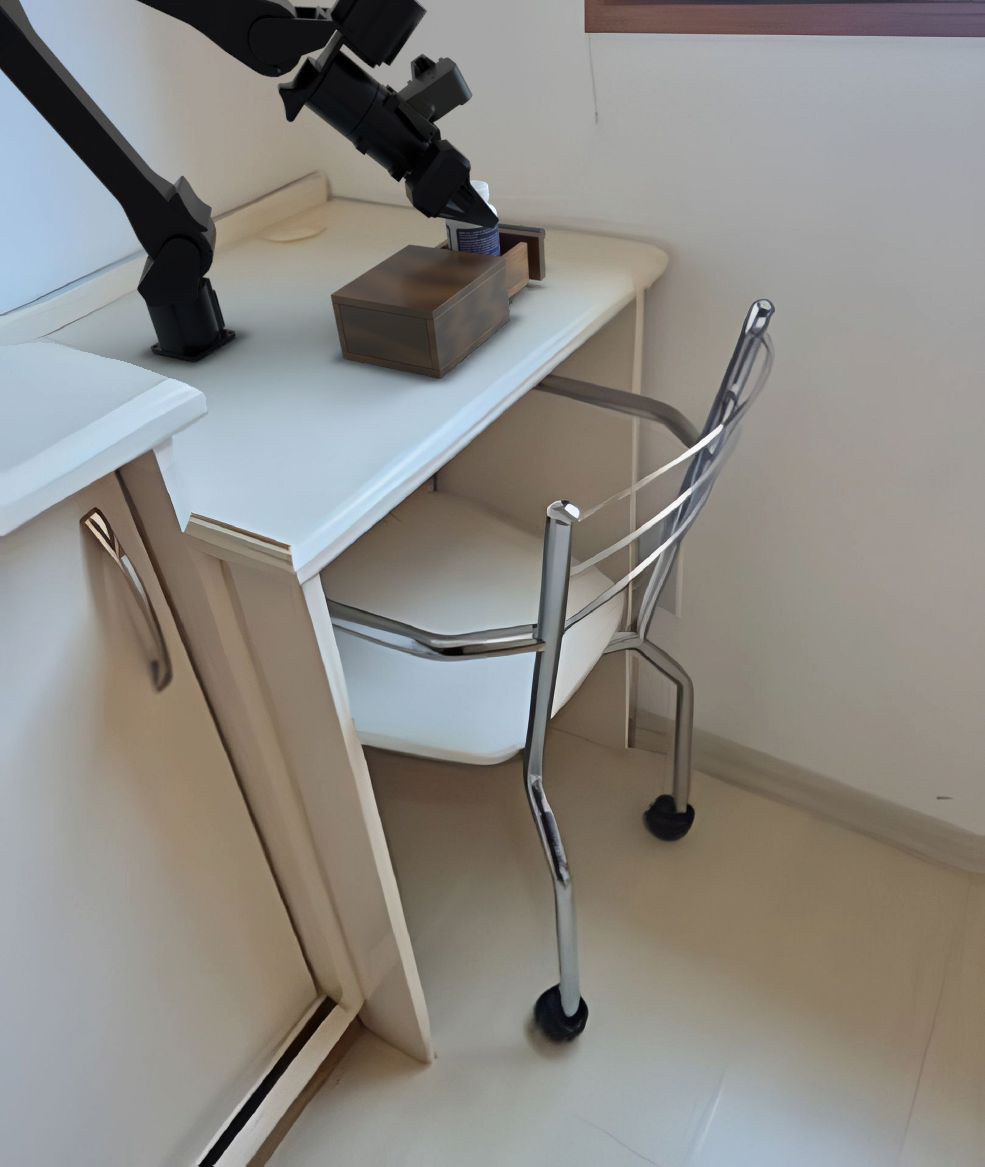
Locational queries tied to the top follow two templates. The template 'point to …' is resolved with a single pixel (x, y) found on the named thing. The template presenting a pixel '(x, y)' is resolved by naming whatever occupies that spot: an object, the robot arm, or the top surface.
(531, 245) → the drawer
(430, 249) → the cabinet
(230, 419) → the top surface
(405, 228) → the top surface
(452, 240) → the pill bottle
